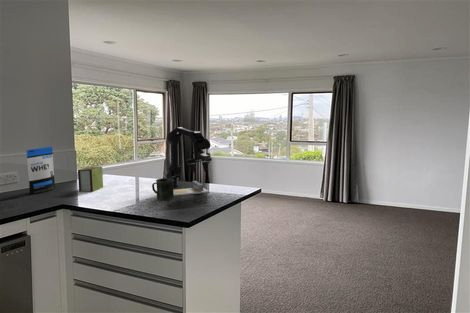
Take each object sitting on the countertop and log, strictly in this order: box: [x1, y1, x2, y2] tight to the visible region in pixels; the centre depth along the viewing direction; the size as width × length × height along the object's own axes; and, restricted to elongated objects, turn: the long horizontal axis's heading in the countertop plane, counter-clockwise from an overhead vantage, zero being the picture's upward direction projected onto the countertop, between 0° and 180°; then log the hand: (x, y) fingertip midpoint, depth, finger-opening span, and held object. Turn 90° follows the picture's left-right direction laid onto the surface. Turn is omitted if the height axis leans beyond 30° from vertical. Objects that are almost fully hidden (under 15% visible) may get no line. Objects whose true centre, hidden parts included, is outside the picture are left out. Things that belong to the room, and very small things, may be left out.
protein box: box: [77, 165, 104, 193], centre depth 248 cm, size 10×15×16 cm
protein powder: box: [26, 146, 56, 196], centre depth 242 cm, size 10×24×30 cm, turn 170°
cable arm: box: [191, 180, 204, 191], centre depth 241 cm, size 17×4×4 cm, turn 23°
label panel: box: [173, 187, 210, 197], centre depth 239 cm, size 15×24×2 cm, turn 113°
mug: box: [151, 177, 175, 201], centre depth 220 cm, size 11×15×12 cm
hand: (200, 173), depth 236 cm, fingers open, 9 cm apart
